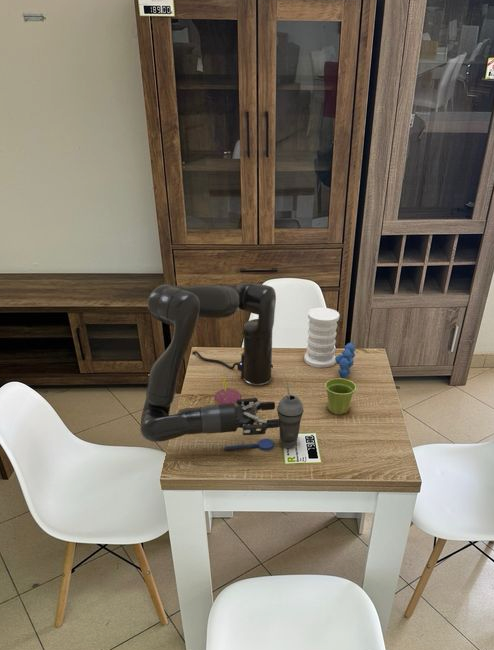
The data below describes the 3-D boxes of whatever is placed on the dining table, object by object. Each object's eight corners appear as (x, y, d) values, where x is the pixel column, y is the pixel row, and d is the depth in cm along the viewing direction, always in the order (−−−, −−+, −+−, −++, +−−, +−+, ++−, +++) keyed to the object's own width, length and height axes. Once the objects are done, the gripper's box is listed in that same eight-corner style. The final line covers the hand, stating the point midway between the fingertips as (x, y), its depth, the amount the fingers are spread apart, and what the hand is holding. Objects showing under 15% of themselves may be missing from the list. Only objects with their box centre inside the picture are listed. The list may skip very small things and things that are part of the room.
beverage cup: (292, 454, 150) (296, 393, 139) (270, 445, 153) (272, 384, 142) (306, 441, 155) (310, 381, 144) (284, 432, 158) (287, 373, 147)
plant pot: (351, 419, 165) (354, 395, 161) (320, 415, 167) (323, 391, 162) (354, 403, 173) (357, 380, 168) (325, 399, 174) (327, 376, 170)
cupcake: (208, 410, 166) (206, 376, 160) (229, 400, 172) (228, 367, 165) (227, 422, 162) (226, 387, 155) (247, 411, 167) (248, 377, 160)
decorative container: (302, 352, 201) (305, 307, 191) (333, 352, 202) (337, 307, 192) (305, 367, 191) (308, 320, 182) (338, 367, 192) (343, 320, 183)
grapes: (338, 366, 194) (341, 335, 187) (356, 370, 192) (360, 339, 185) (328, 381, 184) (331, 349, 178) (347, 385, 182) (351, 353, 176)
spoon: (225, 454, 149) (225, 451, 148) (223, 444, 152) (223, 442, 152) (275, 449, 151) (275, 447, 151) (272, 440, 155) (272, 437, 154)
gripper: (220, 422, 137) (283, 417, 140) (214, 392, 148) (273, 388, 151) (221, 446, 141) (282, 440, 144) (215, 415, 152) (272, 410, 155)
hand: (277, 413), depth 148 cm, fingers open, 8 cm apart
